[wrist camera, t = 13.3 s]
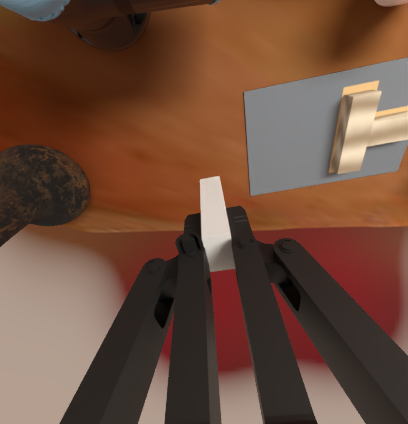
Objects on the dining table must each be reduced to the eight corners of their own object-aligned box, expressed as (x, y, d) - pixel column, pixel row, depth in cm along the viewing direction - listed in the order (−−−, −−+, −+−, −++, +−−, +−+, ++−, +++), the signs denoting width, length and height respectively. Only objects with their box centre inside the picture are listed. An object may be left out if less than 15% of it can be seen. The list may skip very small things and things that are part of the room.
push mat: (243, 92, 41) (243, 92, 41) (442, 49, 38) (443, 49, 38) (250, 195, 55) (250, 195, 55) (396, 170, 52) (397, 171, 52)
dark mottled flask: (-2, 159, 48) (-184, 249, 25) (54, 120, 43) (-104, 186, 20) (62, 215, 57) (-27, 317, 34) (114, 187, 53) (51, 284, 30)
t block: (344, 94, 42) (353, 96, 39) (425, 78, 40) (440, 79, 38) (330, 168, 51) (337, 174, 48) (396, 157, 50) (406, 162, 47)
